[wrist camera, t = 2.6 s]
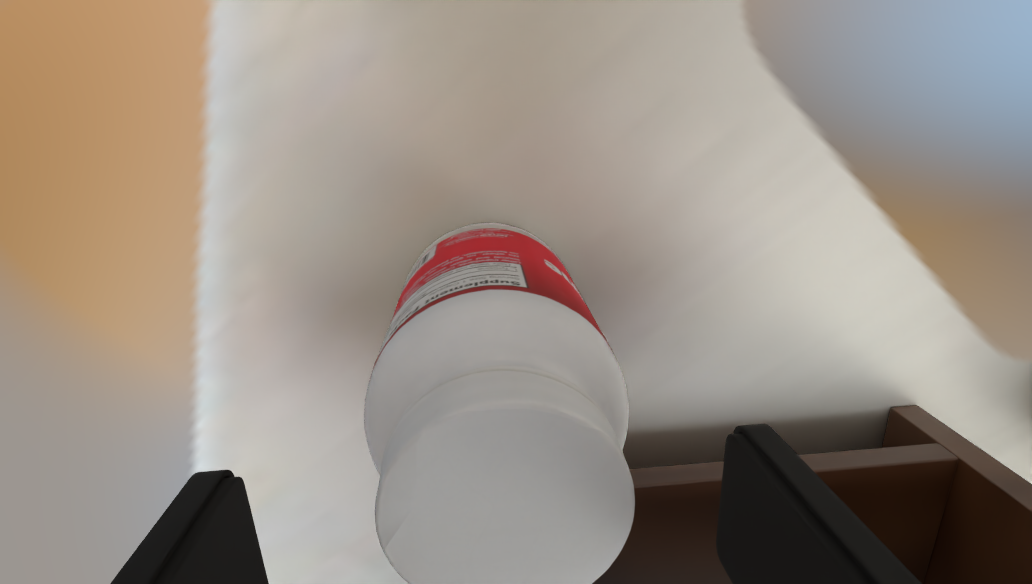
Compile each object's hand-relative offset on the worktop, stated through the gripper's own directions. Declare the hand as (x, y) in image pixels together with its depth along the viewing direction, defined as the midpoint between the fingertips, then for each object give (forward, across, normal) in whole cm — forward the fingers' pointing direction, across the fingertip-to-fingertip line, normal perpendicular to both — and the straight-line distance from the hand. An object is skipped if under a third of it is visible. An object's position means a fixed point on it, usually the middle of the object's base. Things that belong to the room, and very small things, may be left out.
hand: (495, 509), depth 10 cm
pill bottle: (+10, 0, -1) cm, 10 cm away
